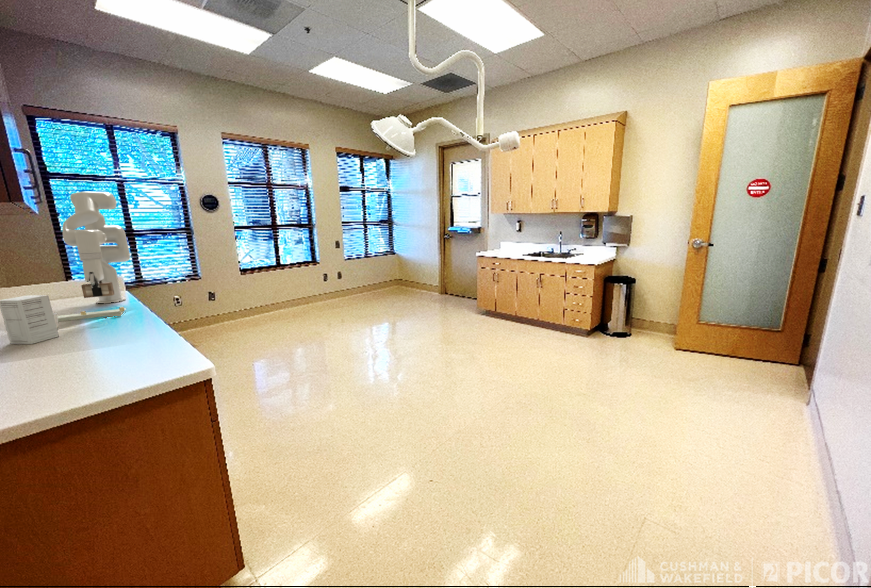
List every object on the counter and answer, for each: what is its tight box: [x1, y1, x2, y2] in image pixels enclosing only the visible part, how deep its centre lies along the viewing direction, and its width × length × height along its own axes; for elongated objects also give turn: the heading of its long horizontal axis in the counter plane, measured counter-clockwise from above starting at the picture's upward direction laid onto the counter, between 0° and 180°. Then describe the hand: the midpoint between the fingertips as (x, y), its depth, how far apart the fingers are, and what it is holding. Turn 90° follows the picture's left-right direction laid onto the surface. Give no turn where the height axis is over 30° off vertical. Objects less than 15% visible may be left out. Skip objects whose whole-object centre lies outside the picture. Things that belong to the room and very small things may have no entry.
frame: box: [80, 282, 114, 299], centre depth 165 cm, size 4×10×6 cm, turn 123°
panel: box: [58, 306, 127, 323], centre depth 164 cm, size 14×27×3 cm, turn 123°
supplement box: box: [0, 294, 60, 345], centre depth 132 cm, size 10×9×17 cm
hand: (99, 294), depth 166 cm, fingers closed on frame, 4 cm apart
